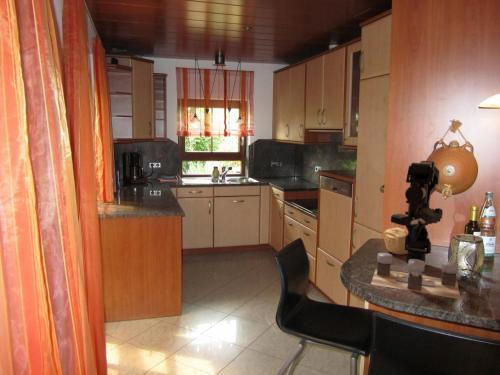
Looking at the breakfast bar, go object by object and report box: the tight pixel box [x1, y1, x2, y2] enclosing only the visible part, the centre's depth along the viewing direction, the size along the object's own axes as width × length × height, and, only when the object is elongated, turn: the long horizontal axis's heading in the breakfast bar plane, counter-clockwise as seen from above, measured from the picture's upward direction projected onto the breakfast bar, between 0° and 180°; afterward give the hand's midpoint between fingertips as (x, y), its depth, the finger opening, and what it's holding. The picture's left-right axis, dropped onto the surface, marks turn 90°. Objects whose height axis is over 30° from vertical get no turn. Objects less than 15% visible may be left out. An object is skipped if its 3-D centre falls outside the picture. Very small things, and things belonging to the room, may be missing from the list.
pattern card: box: [396, 274, 434, 287], centre depth 145 cm, size 6×12×1 cm, turn 68°
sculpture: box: [383, 227, 408, 255], centre depth 181 cm, size 12×12×11 cm
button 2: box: [440, 261, 459, 275], centre depth 143 cm, size 5×5×5 cm
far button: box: [407, 259, 426, 278], centre depth 139 cm, size 5×5×5 cm
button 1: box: [376, 252, 393, 265], centre depth 151 cm, size 5×5×5 cm
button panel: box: [370, 262, 462, 300], centre depth 144 cm, size 16×27×6 cm, turn 68°
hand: (413, 241), depth 152 cm, fingers closed
